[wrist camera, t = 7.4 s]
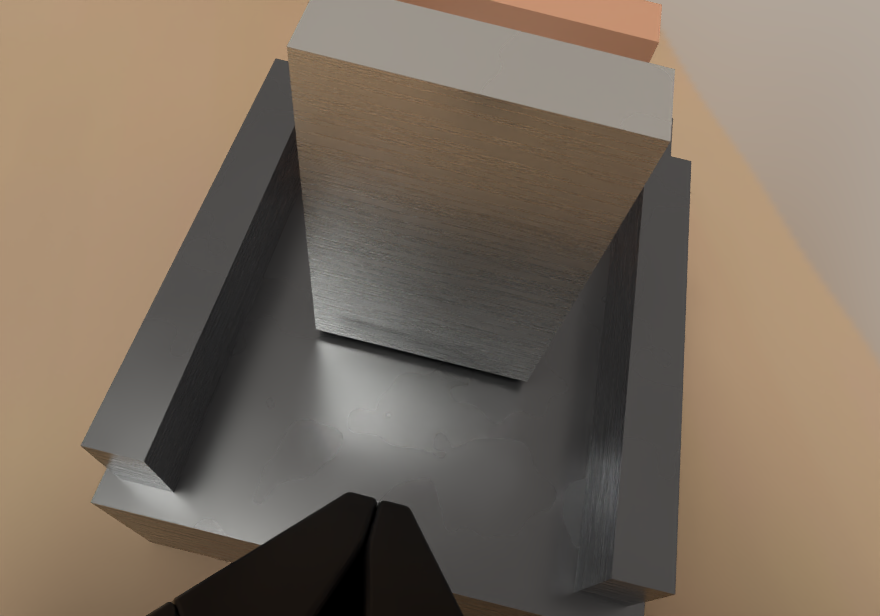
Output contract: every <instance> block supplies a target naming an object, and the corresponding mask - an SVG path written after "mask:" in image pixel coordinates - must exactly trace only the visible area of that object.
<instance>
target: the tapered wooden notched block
mask: <svg viewBox="0 0 880 616" xmlns="http://www.w3.org/2000/svg"><path fill="white" fill-rule="evenodd" d="M287 53H288V62H289V72H290V82H291V91H292V101H293V111H294V121H295V130H296V140H297V150H298V159H299V169H300V179H301V189H302V198H303V208H304V218H305V227H306V237H307V247H308V257H309V266H310V276H311V286H312V295H313V305H314V315H315V325H316V329H317V330H321V331H325V332H329V333H333V334H337V335H341V336H345V337H349V338H353V339H357V340H361V341H365V342H369V343H373V344H377V345H381V346H385V347H389V348H393V349H397V350H401V351H405V352H409V353H413V354H417V355H421V356H425V357H429V358H433V359H437V360H441V361H445V362H449V363H453V364H457V365H461V366H465V367H469V368H473V369H477V370H481V371H485V372H489V373H493V374H497V375H501V376H505V377H509V378H514V379H518V380H522V381H526V382H527V381H528V379H529V377H530V376H531V374H532V372H533V371H534V369H535V367H536V366H537V364H538V362H539V361H540V359H541V357H542V356H543V354H544V352H545V351H546V349H547V347H548V346H549V344H550V342H551V340H552V339H553V337H554V335H555V334H556V332H557V330H558V329H559V327H560V325H561V324H562V322H563V320H564V319H565V317H566V315H567V314H568V312H569V310H570V309H571V307H572V305H573V304H574V302H575V300H576V299H577V297H578V295H579V294H580V292H581V290H582V289H583V287H584V285H585V284H586V282H587V280H588V279H589V277H590V275H591V274H592V272H593V270H594V269H595V267H596V265H597V264H598V262H599V260H600V259H601V257H602V255H603V254H604V252H605V250H606V249H607V247H608V245H609V244H610V242H611V240H612V239H613V237H614V235H615V234H616V232H617V230H618V229H619V227H620V225H621V224H622V222H623V220H624V218H625V217H626V215H627V213H628V212H629V210H630V208H631V207H632V205H633V203H634V202H635V200H636V198H637V197H638V195H639V193H640V192H641V190H642V188H643V187H644V185H645V183H646V182H647V180H648V178H649V177H650V175H651V173H652V172H653V170H654V168H655V167H656V165H657V163H658V162H659V160H660V158H661V157H662V155H663V153H664V152H665V150H666V148H667V147H668V145H669V143H670V142H671V126H672V109H673V92H674V75H675V69H672V68H668V67H664V66H660V65H655V64H651V63H647V62H643V61H639V60H635V59H631V58H627V57H623V56H619V55H615V54H611V53H607V52H603V51H599V50H595V49H591V48H587V47H583V46H579V45H575V44H570V43H566V42H562V41H558V40H554V39H550V38H546V37H542V36H538V35H534V34H530V33H526V32H522V31H518V30H514V29H510V28H506V27H502V26H498V25H494V24H489V23H485V22H481V21H477V20H473V19H469V18H465V17H461V16H457V15H453V14H449V13H445V12H441V11H437V10H433V9H429V8H425V7H421V6H417V5H413V4H409V3H404V2H400V1H396V0H310V1H309V3H308V5H307V7H306V9H305V11H304V13H303V15H302V17H301V19H300V21H299V23H298V25H297V27H296V29H295V31H294V33H293V35H292V37H291V39H290V41H289V43H288V45H287Z"/></svg>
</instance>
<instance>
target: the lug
mask: <svg viewBox="0 0 880 616" xmlns="http://www.w3.org/2000/svg"><path fill="white" fill-rule="evenodd" d="M396 1H400V2H404V3H409V4H413V5H417V6H421V7H425V8H429V9H433V10H437V11H441V12H445V13H449V14H453V15H457V16H461V17H465V18H469V19H473V20H477V21H481V22H485V23H489V24H494V25H498V26H502V27H506V28H510V29H514V30H518V31H522V32H526V33H530V34H534V35H538V36H542V37H546V38H550V39H554V40H558V41H562V42H566V43H570V44H575V45H579V46H583V47H587V48H591V49H595V50H599V51H603V52H607V53H611V54H615V55H619V56H623V57H627V58H631V59H635V60H639V61H643V62H647V63H649V62H650V59H651V57H652V55H653V53H654V51H655V49H656V47H657V45H658V43H659V35H660V23H661V10H662V5H661V4H657V3H653V2H649V1H645V0H396Z"/></svg>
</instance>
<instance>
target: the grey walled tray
mask: <svg viewBox="0 0 880 616" xmlns="http://www.w3.org/2000/svg"><path fill="white" fill-rule="evenodd" d="M672 124H673V118H672ZM671 142H672V126H671ZM671 142H670V143H669V145H668V147H667V148H666V150H665V152H664V153H663V155H662V157H661V158H660V160H659V162H658V163H657V165H656V167H655V168H654V170H653V172H652V173H651V175H650V177H649V178H648V180H647V182H646V183H645V185H644V187H643V188H642V190H641V192H640V193H639V195H638V197H637V198H636V200H635V202H634V203H633V205H632V207H631V208H630V210H629V212H628V213H627V215H626V217H625V218H624V220H623V222H622V224H621V225H620V227H619V229H618V230H617V232H616V234H615V235H614V237H613V239H612V240H611V242H610V244H609V245H608V247H607V249H606V250H605V252H604V254H603V255H602V257H601V259H600V260H599V262H598V264H597V265H596V267H595V269H594V270H593V272H592V274H591V275H590V277H589V279H588V280H587V282H586V284H585V285H584V287H583V289H582V290H581V292H580V294H579V295H578V297H577V299H576V300H575V302H574V304H573V305H572V307H571V309H570V310H569V312H568V314H567V315H566V317H565V319H564V320H563V322H562V324H561V325H560V327H559V329H558V330H557V332H556V334H555V335H554V337H553V339H552V340H551V342H550V344H549V346H548V347H547V349H546V351H545V352H544V354H543V356H542V357H541V359H540V361H539V362H538V364H537V366H536V367H535V369H534V371H533V372H532V374H531V376H530V377H529V379H528V381H527V382H526V381H522V380H518V379H514V378H509V377H505V376H501V375H497V374H493V373H489V372H485V371H481V370H477V369H473V368H469V367H465V366H461V365H457V364H453V363H449V362H445V361H441V360H437V359H433V358H429V357H425V356H421V355H417V354H413V353H409V352H405V351H401V350H397V349H393V348H389V347H385V346H381V345H377V344H373V343H369V342H365V341H361V340H357V339H353V338H349V337H345V336H341V335H337V334H333V333H329V332H325V331H321V330H317V329H316V325H315V315H314V305H313V295H312V286H311V276H310V266H309V257H308V247H307V237H306V227H305V218H304V208H303V198H302V189H301V179H300V169H299V159H298V150H297V140H296V130H295V121H294V111H293V101H292V91H291V82H290V72H289V62H288V61H284V60H280V59H275V61H274V63H273V65H272V67H271V69H270V71H269V73H268V75H267V77H266V79H265V81H264V83H263V85H262V87H261V89H260V91H259V93H258V95H257V97H256V99H255V101H254V103H253V105H252V107H251V109H250V111H249V112H248V114H247V116H246V118H245V120H244V122H243V124H242V126H241V128H240V130H239V132H238V134H237V136H236V138H235V140H234V142H233V144H232V146H231V148H230V150H229V152H228V154H227V156H226V158H225V160H224V162H223V164H222V166H221V168H220V170H219V172H218V174H217V176H216V178H215V180H214V182H213V184H212V186H211V188H210V190H209V192H208V194H207V196H206V198H205V200H204V202H203V204H202V206H201V208H200V210H199V212H198V214H197V216H196V218H195V220H194V222H193V224H192V226H191V228H190V230H189V232H188V234H187V236H186V238H185V240H184V241H183V243H182V245H181V247H180V249H179V251H178V253H177V255H176V257H175V259H174V261H173V263H172V265H171V267H170V269H169V271H168V273H167V275H166V277H165V279H164V281H163V283H162V285H161V287H160V289H159V291H158V293H157V295H156V297H155V299H154V301H153V303H152V305H151V307H150V309H149V311H148V313H147V315H146V317H145V319H144V321H143V323H142V325H141V327H140V329H139V331H138V333H137V335H136V337H135V339H134V341H133V343H132V345H131V347H130V349H129V351H128V353H127V355H126V357H125V359H124V361H123V363H122V365H121V367H120V369H119V370H118V372H117V374H116V376H115V378H114V380H113V382H112V384H111V386H110V388H109V390H108V392H107V394H106V396H105V398H104V400H103V402H102V404H101V406H100V408H99V410H98V412H97V414H96V416H95V418H94V420H93V422H92V424H91V426H90V428H89V430H88V432H87V434H86V436H85V438H84V440H83V442H82V444H81V446H82V447H83V448H84V449H85V450H86V451H87V452H89V453H90V454H91V455H92V456H93V457H95V458H96V459H97V460H98V461H99V462H100V463H102V464H103V465H104V466H105V467H106V468H107V469H106V471H105V473H104V475H103V477H102V480H101V482H100V484H99V486H98V488H97V490H96V492H95V494H94V496H93V499H92V501H91V503H92V504H94V505H95V506H97V507H99V508H100V509H102V510H103V511H105V512H106V513H108V514H109V515H111V516H112V517H114V518H115V519H117V520H118V521H120V522H121V523H123V524H124V525H126V526H127V527H129V528H130V529H132V530H133V531H135V532H136V533H138V534H139V535H141V536H142V537H144V538H145V539H147V540H148V541H150V542H153V543H157V544H161V545H165V546H169V547H173V548H177V549H181V550H185V551H189V552H193V553H197V554H201V555H205V556H209V557H213V558H217V559H221V560H225V561H229V562H234V561H236V560H238V559H239V558H241V557H242V556H244V555H246V554H247V553H249V552H251V551H252V550H254V549H255V548H257V547H259V546H260V545H262V544H264V543H265V542H267V541H268V540H270V539H272V538H273V537H275V536H277V535H278V534H280V533H281V532H283V531H285V530H286V529H288V528H289V527H291V526H293V525H294V524H296V523H298V522H299V521H301V520H302V519H304V518H306V517H307V516H309V515H311V514H312V513H314V512H315V511H317V510H319V509H320V508H322V507H324V506H325V505H327V504H328V503H330V502H332V501H333V500H335V499H337V498H338V497H340V496H341V495H343V494H345V493H347V492H353V493H357V494H361V495H365V496H369V497H373V498H375V499H376V501H377V505H378V503H379V502H380V501H382V500H385V501H389V502H393V503H397V504H401V505H405V506H408V507H409V508H410V509H411V511H412V513H413V515H414V517H415V519H416V521H417V523H418V525H419V527H420V529H421V531H422V533H423V535H424V537H425V539H426V541H427V543H428V545H429V547H430V549H431V551H432V553H433V555H434V557H435V559H436V561H437V563H438V565H439V567H440V569H441V571H442V573H443V575H444V577H445V579H446V581H447V583H448V585H449V587H450V589H451V591H452V593H453V595H454V597H455V599H456V601H457V603H458V605H459V607H460V609H461V611H462V613H463V615H464V616H644V607H645V602H647V601H651V600H655V599H659V598H663V597H667V596H671V595H675V584H676V557H677V530H678V503H679V477H680V450H681V423H682V396H683V369H684V342H685V315H686V288H687V261H688V235H689V208H690V181H691V161H688V160H684V159H680V158H676V157H672V156H671Z"/></svg>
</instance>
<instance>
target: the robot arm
mask: <svg viewBox="0 0 880 616" xmlns="http://www.w3.org/2000/svg"><path fill="white" fill-rule="evenodd" d="M146 616H464V615H463V613H462V611H461V609H460V607H459V605H458V603H457V601H456V599H455V597H454V595H453V593H452V591H451V589H450V587H449V585H448V583H447V581H446V579H445V577H444V575H443V573H442V571H441V569H440V567H439V565H438V563H437V561H436V559H435V557H434V555H433V553H432V551H431V549H430V547H429V545H428V543H427V541H426V539H425V537H424V535H423V533H422V531H421V529H420V527H419V525H418V523H417V521H416V519H415V517H414V515H413V513H412V511H411V509H410V508H409V507H408V506H405V505H401V504H397V503H393V502H389V501H385V500H382V501H380V502H379V503H378V505H377V501H376V499H375V498H373V497H369V496H365V495H361V494H357V493H353V492H347V493H345V494H343V495H341V496H340V497H338V498H337V499H335V500H333V501H332V502H330V503H328V504H327V505H325V506H324V507H322V508H320V509H319V510H317V511H315V512H314V513H312V514H311V515H309V516H307V517H306V518H304V519H302V520H301V521H299V522H298V523H296V524H294V525H293V526H291V527H289V528H288V529H286V530H285V531H283V532H281V533H280V534H278V535H277V536H275V537H273V538H272V539H270V540H268V541H267V542H265V543H264V544H262V545H260V546H259V547H257V548H255V549H254V550H252V551H251V552H249V553H247V554H246V555H244V556H242V557H241V558H239V559H238V560H236V561H234V562H233V563H231V564H230V565H228V566H226V567H225V568H223V569H221V570H220V571H218V572H217V573H215V574H213V575H212V576H210V577H208V578H207V579H205V580H204V581H202V582H200V583H199V584H197V585H195V586H194V587H192V588H191V589H189V590H187V591H186V592H184V593H183V594H181V595H179V596H178V597H176V598H175V599H174V600H173V601H172V602H168V603H166V604H164V605H163V606H161V607H159V608H158V609H156V610H154V611H153V612H151V613H150V614H148V615H146Z"/></svg>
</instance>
